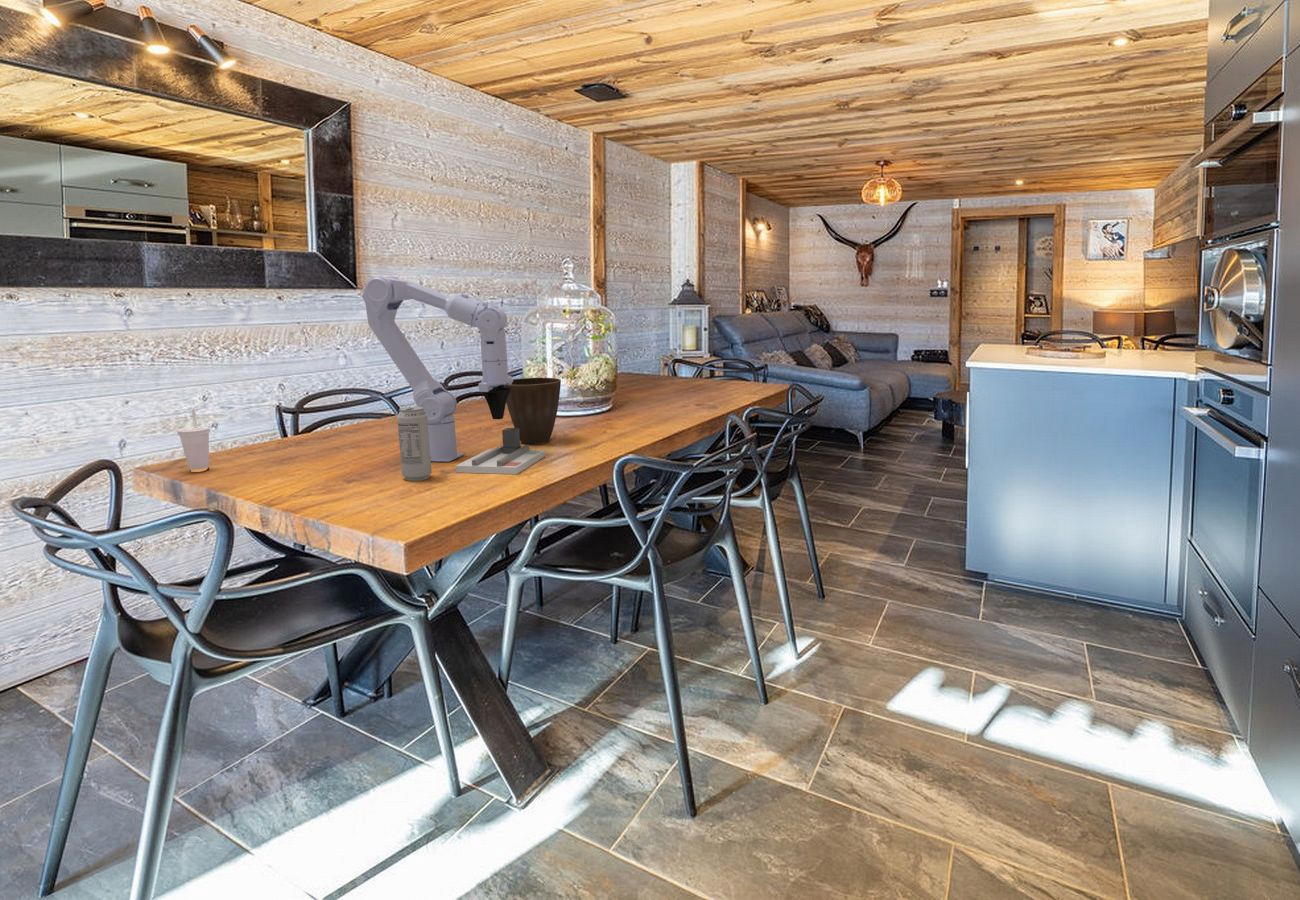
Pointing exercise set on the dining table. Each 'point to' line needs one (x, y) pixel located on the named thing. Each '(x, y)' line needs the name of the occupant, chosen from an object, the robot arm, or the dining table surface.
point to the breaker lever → (511, 440)
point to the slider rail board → (501, 461)
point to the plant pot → (534, 408)
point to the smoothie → (195, 445)
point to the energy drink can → (414, 443)
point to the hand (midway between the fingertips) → (497, 418)
